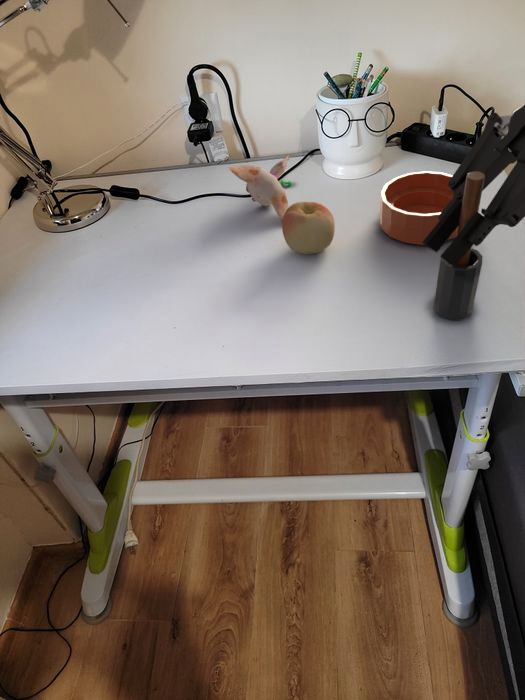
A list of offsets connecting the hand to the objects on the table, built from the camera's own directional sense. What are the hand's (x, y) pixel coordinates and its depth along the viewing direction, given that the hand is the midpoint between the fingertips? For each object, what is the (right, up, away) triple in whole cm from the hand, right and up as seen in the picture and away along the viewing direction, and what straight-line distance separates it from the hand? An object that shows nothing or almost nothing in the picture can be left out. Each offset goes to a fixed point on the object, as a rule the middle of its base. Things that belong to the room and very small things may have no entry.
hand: (438, 254), depth 65 cm
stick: (+5, -6, +8) cm, 11 cm away
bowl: (+5, +10, +24) cm, 27 cm away
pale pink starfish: (-21, +17, +36) cm, 45 cm away
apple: (-14, +5, +24) cm, 28 cm away
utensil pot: (+5, -6, +9) cm, 12 cm away
